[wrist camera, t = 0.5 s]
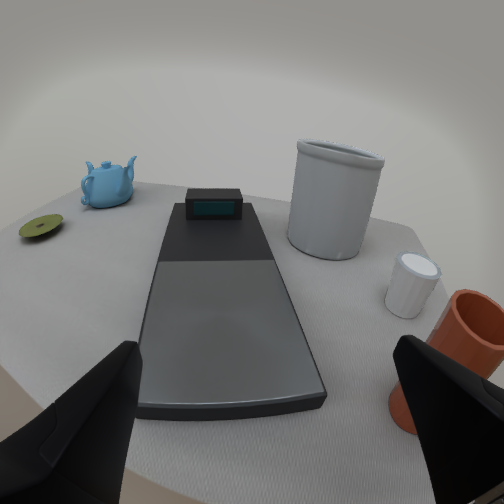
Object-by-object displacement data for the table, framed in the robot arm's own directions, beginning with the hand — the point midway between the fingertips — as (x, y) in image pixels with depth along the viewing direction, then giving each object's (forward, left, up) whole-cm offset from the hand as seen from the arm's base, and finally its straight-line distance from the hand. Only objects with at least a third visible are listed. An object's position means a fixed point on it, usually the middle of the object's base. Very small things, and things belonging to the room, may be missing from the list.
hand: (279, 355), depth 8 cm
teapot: (+60, +27, -15) cm, 67 cm away
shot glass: (+17, -24, -15) cm, 33 cm away
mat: (+42, +39, -15) cm, 59 cm away
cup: (+2, -17, -15) cm, 23 cm away
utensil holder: (+36, -19, -15) cm, 43 cm away
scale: (+27, +1, -15) cm, 31 cm away
